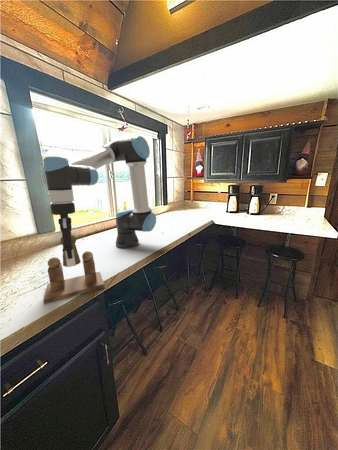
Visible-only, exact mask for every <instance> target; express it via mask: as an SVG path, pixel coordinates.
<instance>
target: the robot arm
mask: <svg viewBox="0 0 338 450" xmlns="http://www.w3.org/2000/svg"><path fill="white" fill-rule="evenodd" d="M150 153H151V152H150V146H149V144H148V141H147V140H146V138H144V136H141V135H132V136H128V137H124V138H117V139H114V140H112V141H111V142H108V143H105V145H102V146H101V147H100V149H98V150H96V151H93V152H91V153H89V154H87V155H83V156H82V157H79V158H77V159H74V160H73V161H72V160H71V161H70V162H69V159H68V158H67V157H64V156H55V155H53V156H46V157H44V158H43V160H42V161H43V172H44V177H45V183H46V187H47V188H46V189H47V192H48V193H46V197H48V200H49V202H50V206H49V207H50V212H51V215H54V216H58V215H59V217H60V218H58V220H57V222H58V224H59V228H60V229H59V230H60V232H61V235H62V236H61V238H62V237H63V244H64V249H63V248H62V252H63V251H65V256H66V262H67V268H71V267H74V266H77V265H76V264H75V257H74V251H73V247H72V240H71V235H72V218H71V217H70V216H69V215H72V214H74V213H76V205H75V203H74V201H75V199H74V192H73V186H75V187H76V186H78V187H79V186H94V185H96V184H97V183H98V181H99V173H98V171H97V170H98V169H99V168H101V167H103V166H105V165H109V164H113V163H116V162H122V161H123V162H125V164H126V165H127V166H128V169H129V176H130V184H131V192H132V198H133V199H132V200H133V201H132V202H133V206H134V208H133V209H126V210H121V211H117V212H116V213H115V223H116V231H117V235H116V240H115V246H116V247H117V248H118V249H129V248H134V247H137V246H138V245H139V244H140V243H139V241H140V240H139V237H138V235H137V233H136V231H137V232H143V233H145V232H147V233H148V232H149V233H150V232H152V231H153V229H154V228H155V226H156V223H157V215H156V214H155V213H154V212H153V211H152V208H151V207H150V205H149V198H148V197H149V195H148V189H147V178H146V172H145V171H146V169H145V165H146V163H147V159H148V158H150ZM67 246H68V247H67Z"/></svg>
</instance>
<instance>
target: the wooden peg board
mask: <svg viewBox="0 0 338 450" xmlns="http://www.w3.org/2000/svg"><path fill="white" fill-rule="evenodd" d="M81 258H82V265H83V266H82V267H83V273H84V274H83V275H79V276H75V277H71V278H68V279H67V278H66V279H65V276H64V271H63V263H62V262H61V259H60V258H58V257H55V256H54V257H53V256H52V257H51V258H49V259H48V261H47V266H48V267H47V275H48V278H49V279H48V280H49V283H47V284H46V288H45V293H44V297H43V304H49V303H52V302H56V301H59V300H64V299H66V298H71V297H75V296H78V295H82V294H85V293H89V292H92V291H93V292H94V291H97V290H99V289H100V290H101V289H103V288H105V283H104V280H103V276H102V273H101V271H97V270H96V263H95V259H94V254H93V252H91V251H89V250H88V251H84V252H83V253H82V255H81Z"/></svg>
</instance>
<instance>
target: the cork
mask: <svg viewBox="0 0 338 450" xmlns="http://www.w3.org/2000/svg"><path fill="white" fill-rule="evenodd" d="M71 240H72V247H73V251H74V257H75V264H76V266H77V265H79V264H81V259H80V255H79V253H78V252H79V251H78V249H77V245H76V243H77V238H76V236H75V235H74V234H71ZM59 242H60V244H61V246H62V249H64V244H63V237H62V236H61V238H60V241H59ZM67 247H68V246H67ZM62 267H67V262H66V256H65V251H62ZM67 268H68V267H67Z"/></svg>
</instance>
